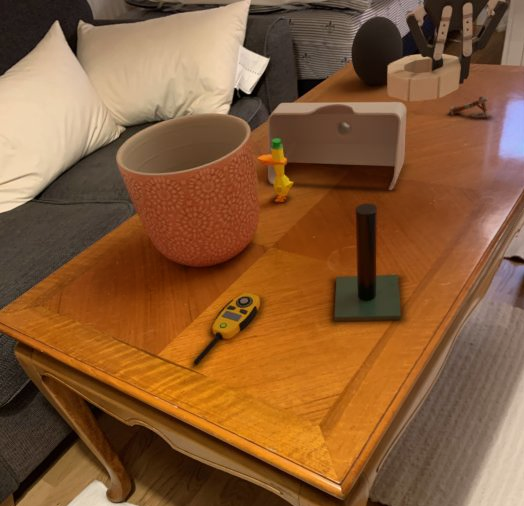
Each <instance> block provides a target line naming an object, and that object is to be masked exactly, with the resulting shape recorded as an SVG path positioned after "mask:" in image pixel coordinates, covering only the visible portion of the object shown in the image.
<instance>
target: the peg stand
mask: <svg viewBox="0 0 524 506" xmlns="http://www.w3.org/2000/svg"><path fill="white" fill-rule="evenodd" d="M377 230H378V208H377V206H376V205H375V204H373V203H361V204H359V205H357V206H356V208H355V240H356V241H355V243H356V245H355V246H356V275H355V276H336V280H335V297H334V298H335V299H334V315H333V316H334V317H333V318H334V322H357V321H358V322H359V321H360V322H361V321H362V322H363V321H364V322H365V321H401V320H402V311H401V297H400V285H399V275H398V274H383V275H381V274H379V275H378V274H377V258H378V257H377V254H378V253H377V250H378V249H377V242H378V241H377V240H378V239H377V238H378V236H377V235H378V233H377V232H378V231H377Z"/></svg>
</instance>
